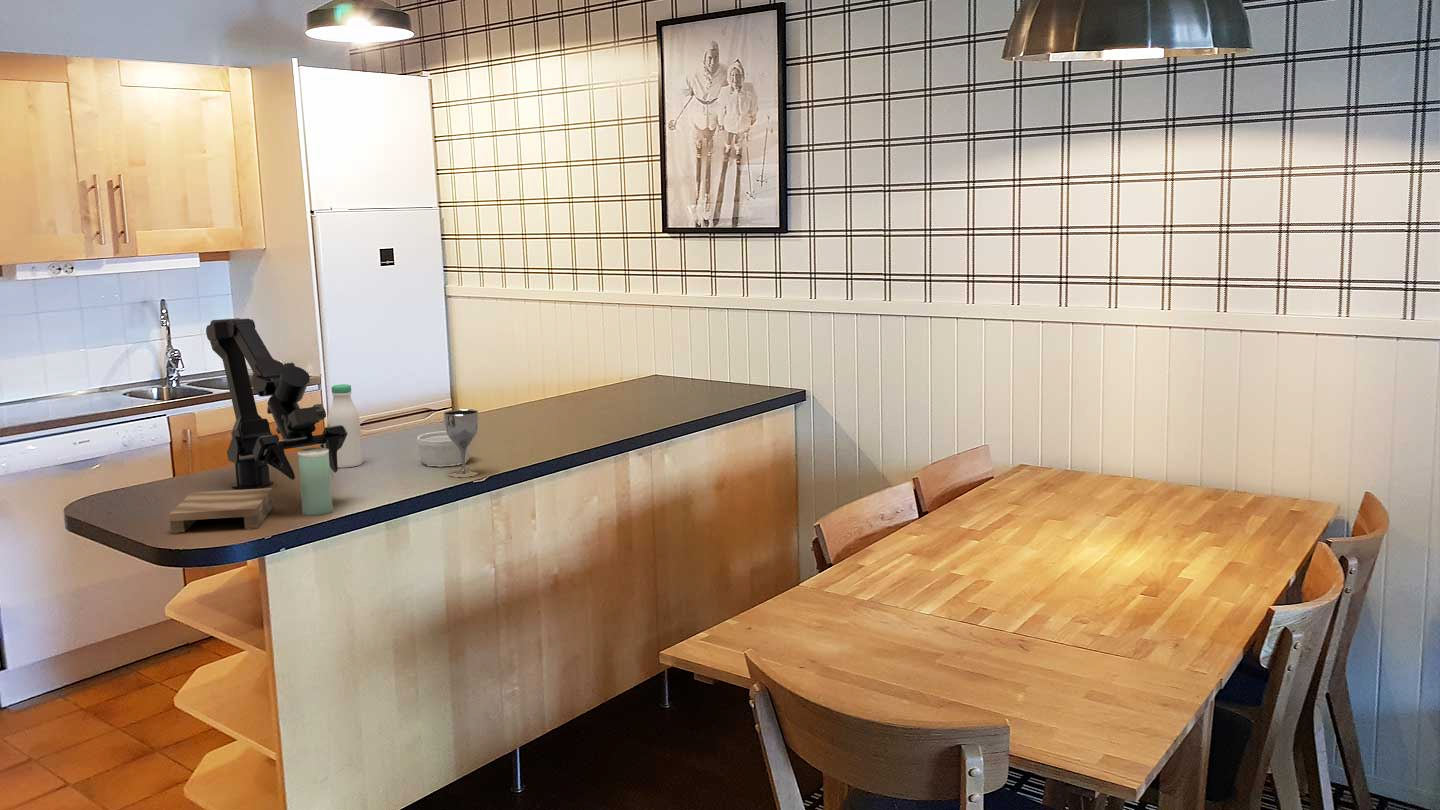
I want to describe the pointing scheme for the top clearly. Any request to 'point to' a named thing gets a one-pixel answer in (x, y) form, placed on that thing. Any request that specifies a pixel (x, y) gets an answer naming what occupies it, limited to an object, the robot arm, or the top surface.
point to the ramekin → (439, 449)
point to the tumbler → (315, 481)
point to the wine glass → (461, 430)
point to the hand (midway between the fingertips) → (315, 474)
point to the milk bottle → (346, 426)
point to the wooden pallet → (223, 507)
